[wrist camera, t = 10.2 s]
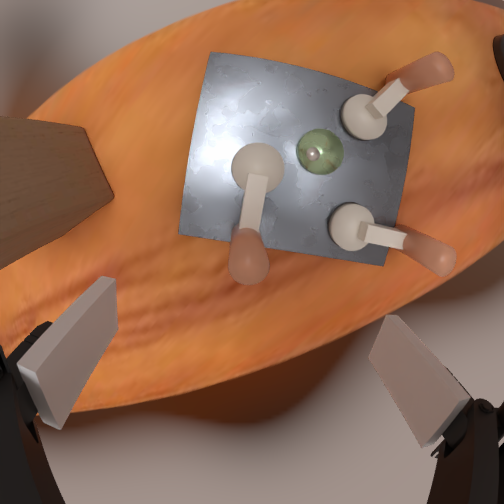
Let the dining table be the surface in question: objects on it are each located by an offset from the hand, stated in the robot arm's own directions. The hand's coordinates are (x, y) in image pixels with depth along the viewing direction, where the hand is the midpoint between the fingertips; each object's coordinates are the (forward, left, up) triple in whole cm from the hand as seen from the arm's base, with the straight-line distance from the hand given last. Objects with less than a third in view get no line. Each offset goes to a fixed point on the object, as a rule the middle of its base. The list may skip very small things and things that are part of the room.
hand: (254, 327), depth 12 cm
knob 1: (0, -4, -17) cm, 18 cm away
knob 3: (-14, -3, -17) cm, 22 cm away
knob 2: (-12, -17, -17) cm, 27 cm away
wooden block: (+22, -3, -19) cm, 29 cm away
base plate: (-5, -9, -19) cm, 21 cm away
